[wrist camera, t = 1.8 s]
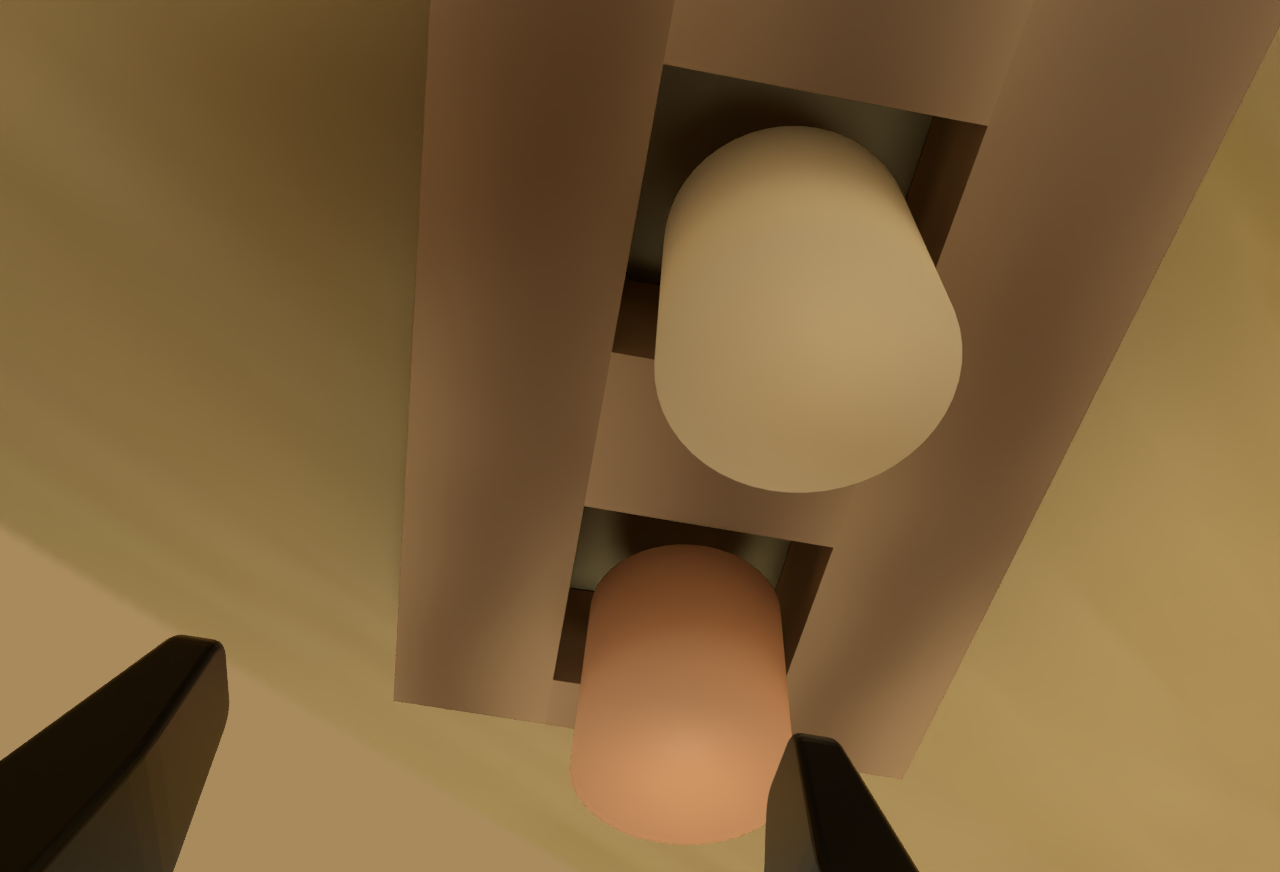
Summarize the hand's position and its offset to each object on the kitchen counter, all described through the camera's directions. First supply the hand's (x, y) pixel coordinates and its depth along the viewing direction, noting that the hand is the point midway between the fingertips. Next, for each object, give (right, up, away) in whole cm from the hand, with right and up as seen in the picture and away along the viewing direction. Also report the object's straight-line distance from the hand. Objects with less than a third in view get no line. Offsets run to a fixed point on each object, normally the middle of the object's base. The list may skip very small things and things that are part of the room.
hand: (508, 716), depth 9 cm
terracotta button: (+2, -1, +12) cm, 12 cm away
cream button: (+4, +6, +7) cm, 10 cm away
